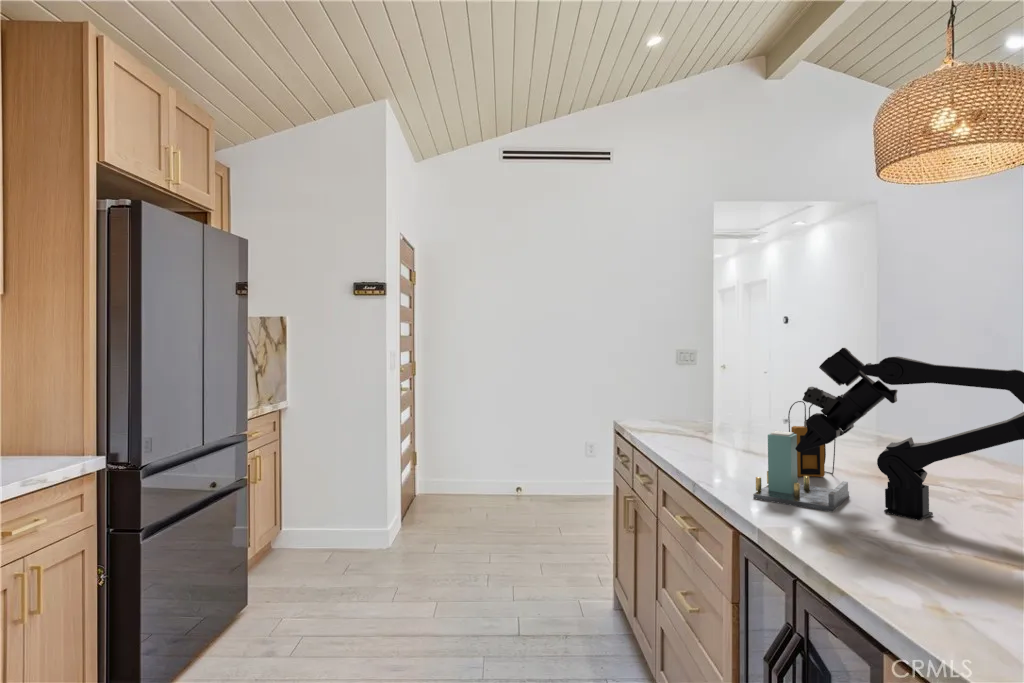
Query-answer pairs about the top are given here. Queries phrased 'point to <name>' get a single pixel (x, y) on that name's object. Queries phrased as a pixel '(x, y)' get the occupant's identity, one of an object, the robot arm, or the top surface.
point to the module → (782, 461)
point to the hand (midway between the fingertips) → (802, 447)
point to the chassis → (806, 495)
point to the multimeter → (809, 453)
